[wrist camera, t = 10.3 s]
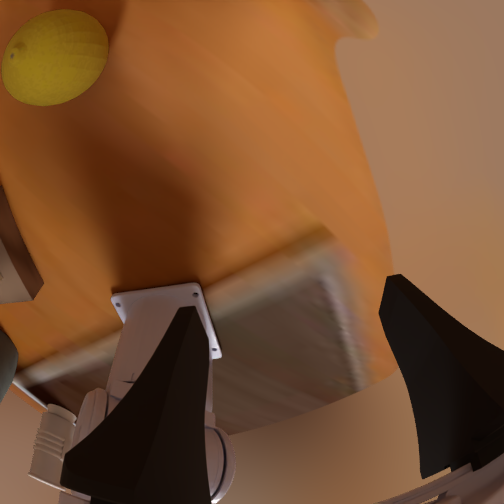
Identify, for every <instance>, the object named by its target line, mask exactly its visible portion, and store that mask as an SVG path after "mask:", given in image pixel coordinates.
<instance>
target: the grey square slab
mask: <svg viewBox="0 0 504 504" xmlns="http://www.w3.org/2000/svg"><path fill="white" fill-rule="evenodd" d="M0 274H1V276H2V277H3V279H2V280H1V282H0V304H4V303H14V302H23V301H32V300H34V298H35V296H36V295H37V293H38V292H39V290H40V289H41V287H42V286H43V284H44V282H43V280H42V278H41V276H40V274H39V273H38V271H37V269H36V267H35V265H34V263H33V261H32V259H31V257H30V255H29V252H28V250H27V248H26V246H25V244H24V242H23V239H22V237H21V235H20V233H19V230H18V228H17V225H16V223H15V220H14V218H13V215H12V213H11V210H10V208H9V205H8V202H7V199H6V196H5V193H4V190H3V187H2V185H1V186H0Z"/></svg>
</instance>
